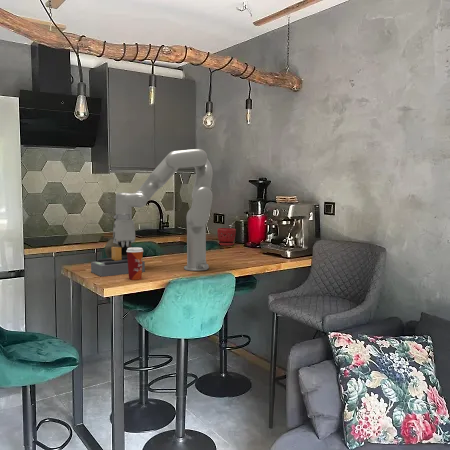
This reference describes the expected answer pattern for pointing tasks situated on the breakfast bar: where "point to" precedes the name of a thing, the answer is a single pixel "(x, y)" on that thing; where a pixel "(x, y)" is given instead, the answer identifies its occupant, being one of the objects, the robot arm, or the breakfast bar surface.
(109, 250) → the cantaloupe
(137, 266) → the paper cup
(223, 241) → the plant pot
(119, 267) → the grey open box
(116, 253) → the lever
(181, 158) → the robot arm
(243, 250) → the breakfast bar surface
